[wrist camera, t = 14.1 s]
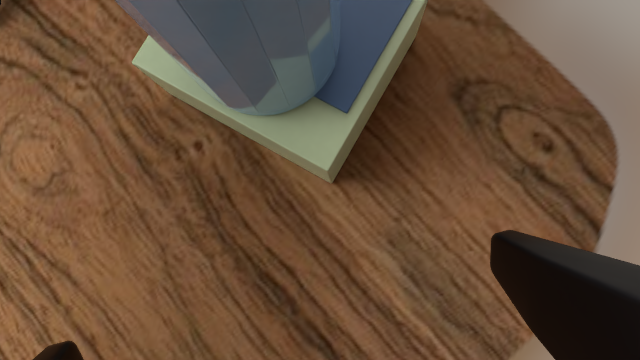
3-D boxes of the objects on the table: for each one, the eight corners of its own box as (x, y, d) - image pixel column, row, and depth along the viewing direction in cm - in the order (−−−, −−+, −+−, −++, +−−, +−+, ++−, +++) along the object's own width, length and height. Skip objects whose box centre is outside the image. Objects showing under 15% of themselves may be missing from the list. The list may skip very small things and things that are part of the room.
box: (416, 35, 21) (432, -13, 17) (331, 184, 21) (327, 170, 17) (254, -44, 23) (234, -106, 19) (169, 93, 22) (128, 60, 18)
